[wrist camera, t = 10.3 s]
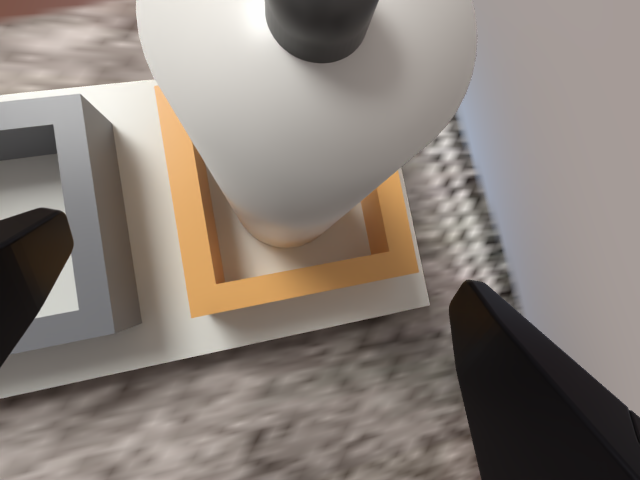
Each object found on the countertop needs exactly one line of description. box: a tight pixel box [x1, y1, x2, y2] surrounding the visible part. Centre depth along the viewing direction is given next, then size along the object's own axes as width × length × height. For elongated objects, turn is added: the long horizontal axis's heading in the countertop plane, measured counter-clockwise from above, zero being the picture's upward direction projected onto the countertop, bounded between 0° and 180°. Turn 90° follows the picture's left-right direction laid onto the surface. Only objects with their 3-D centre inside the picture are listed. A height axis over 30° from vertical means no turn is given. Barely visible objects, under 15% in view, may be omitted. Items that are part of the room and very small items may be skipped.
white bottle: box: [136, 0, 477, 248], centre depth 10 cm, size 5×5×12 cm
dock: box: [0, 79, 430, 399], centre depth 14 cm, size 12×22×4 cm, turn 101°
